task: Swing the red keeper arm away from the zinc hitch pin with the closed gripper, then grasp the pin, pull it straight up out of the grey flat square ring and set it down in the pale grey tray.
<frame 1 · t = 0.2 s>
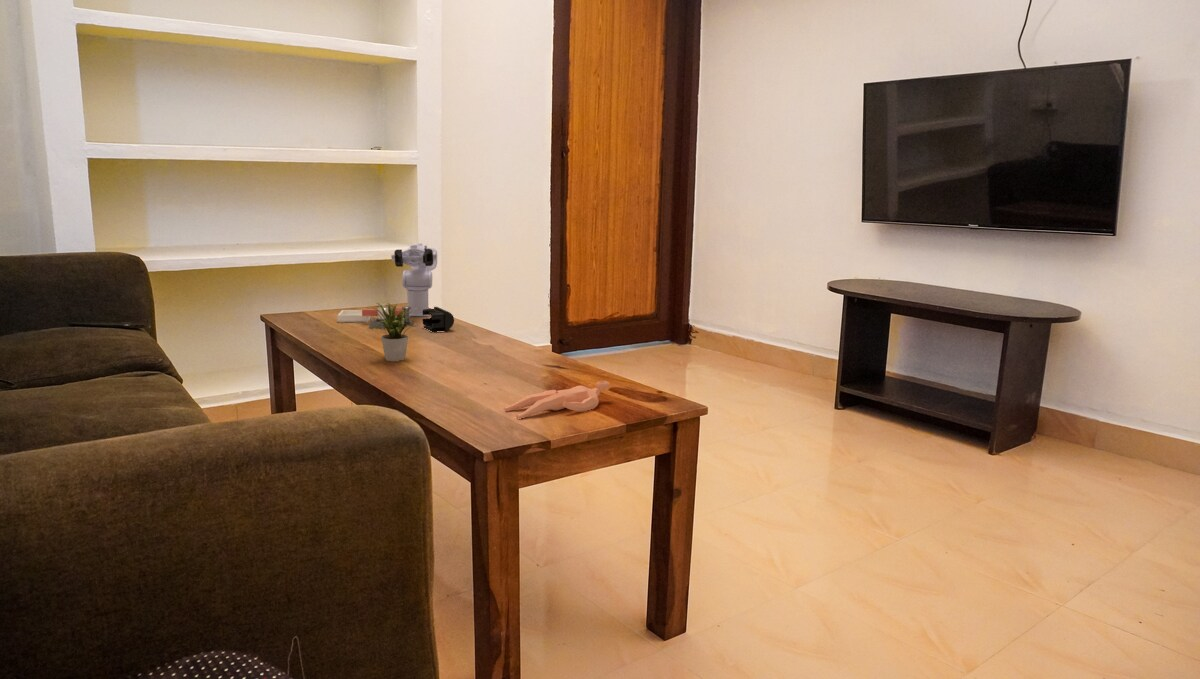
hand: (411, 259, 253), 22 cm above the table, tool horizontal, fingers open, 7 cm apart
keeper post: (406, 324, 259), on the table
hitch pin: (383, 326, 255), resting in grey flat square ring
grey flat square ring: (383, 325, 255), on the table
male figurine: (561, 409, 174), on the table
keeper arm: (382, 312, 257), point 4 cm above the table, hinge at 0.0°
tray: (354, 320, 263), on the table
house plant: (390, 359, 212), on the table
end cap: (438, 330, 252), on the table
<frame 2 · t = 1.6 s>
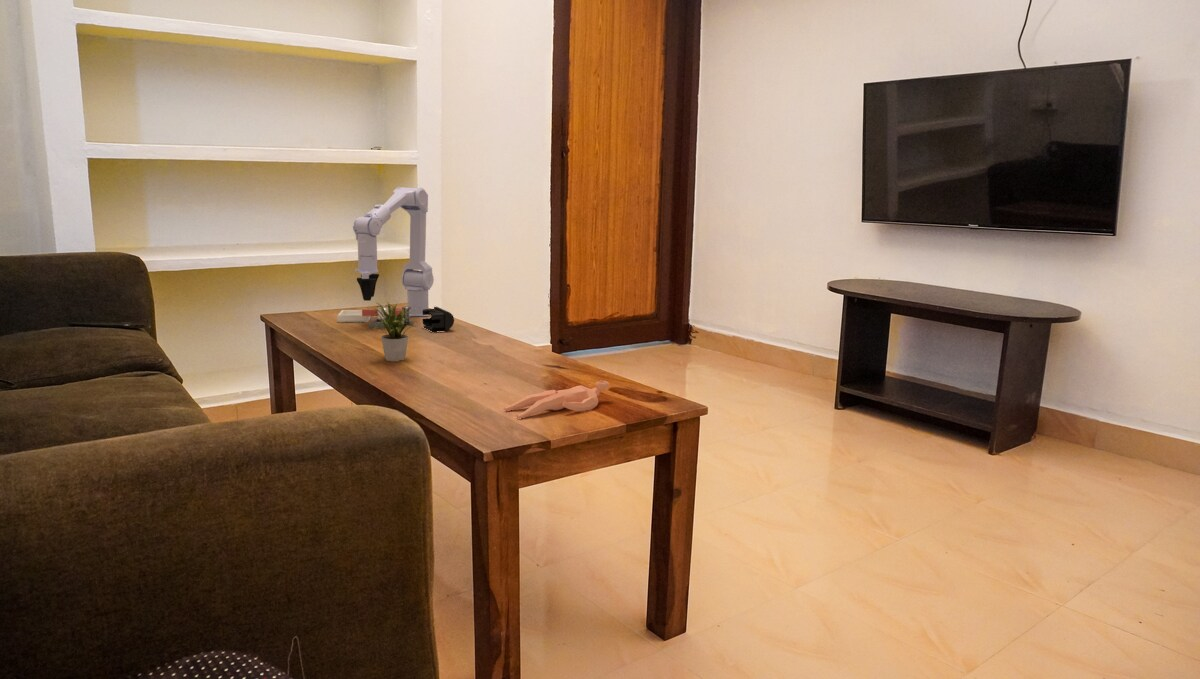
hand: (368, 298, 249), 9 cm above the table, tool pointing down, fingers open, 7 cm apart
nothing on the table moved.
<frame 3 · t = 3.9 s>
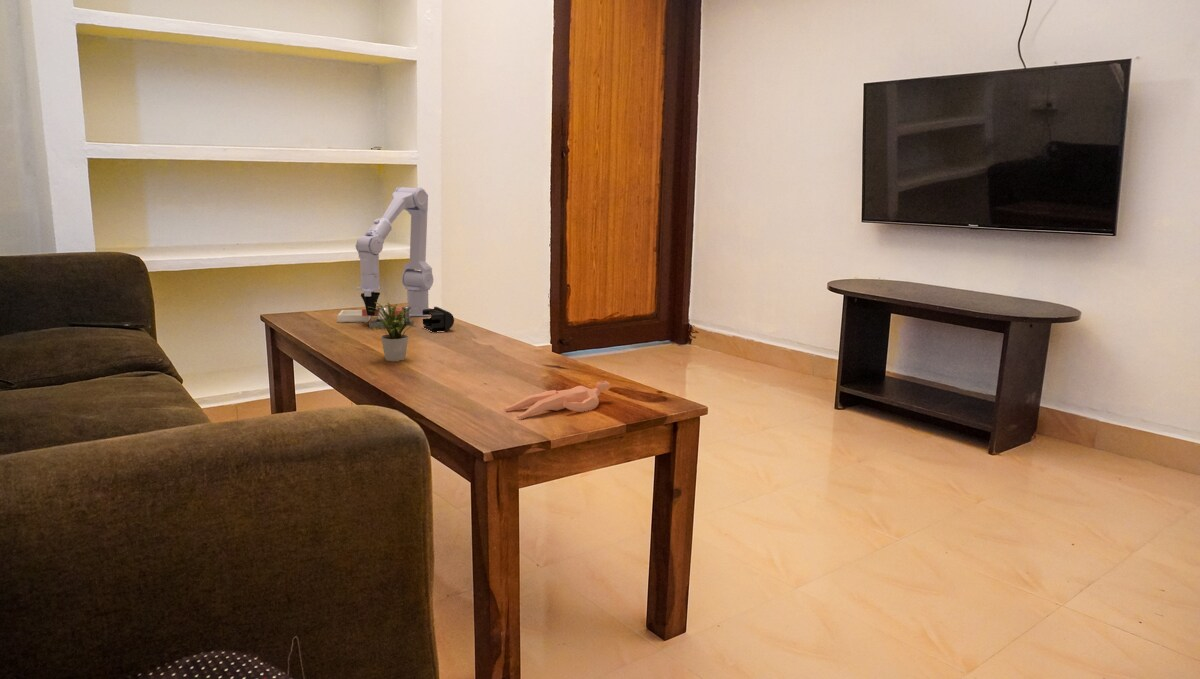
hand: (371, 315, 255), 3 cm above the table, tool pointing down, fingers closed, pressing on keeper arm
keeper arm: (382, 312, 257), point 4 cm above the table, hinge at 0.0°, touching gripper
everything else where it was.
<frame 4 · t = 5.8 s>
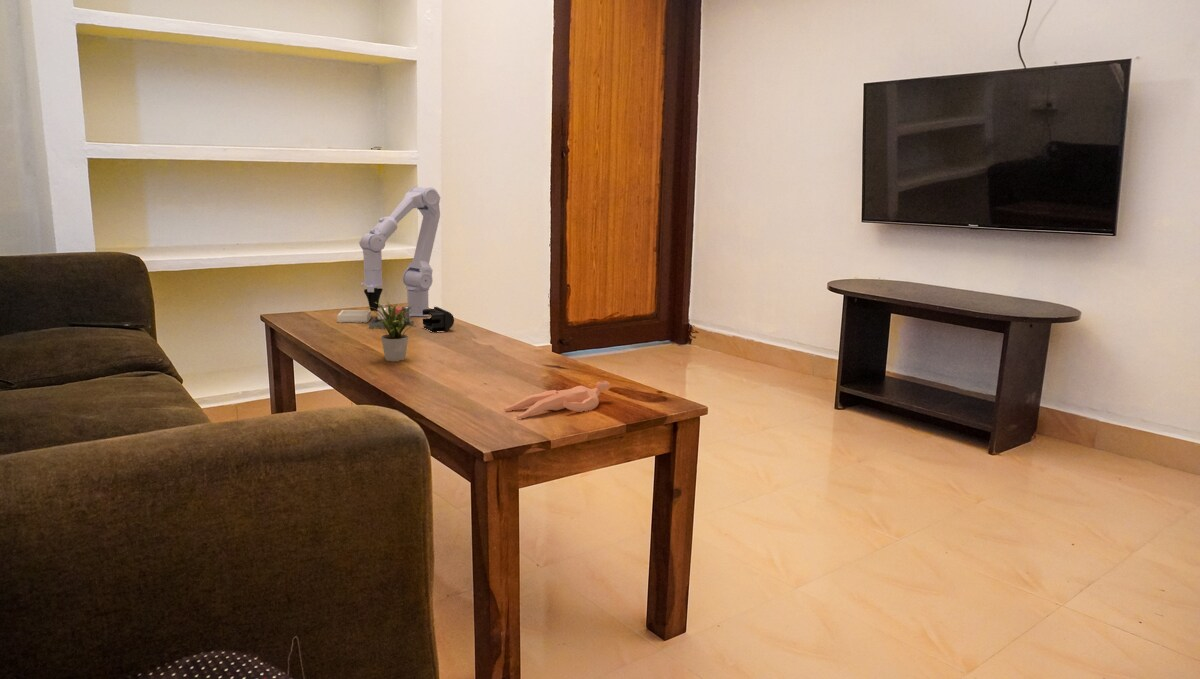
hand: (373, 310, 263), 3 cm above the table, tool pointing down, fingers closed
keeper arm: (389, 310, 262), point 4 cm above the table, hinge at 39.3°, touching gripper
everything else where it was.
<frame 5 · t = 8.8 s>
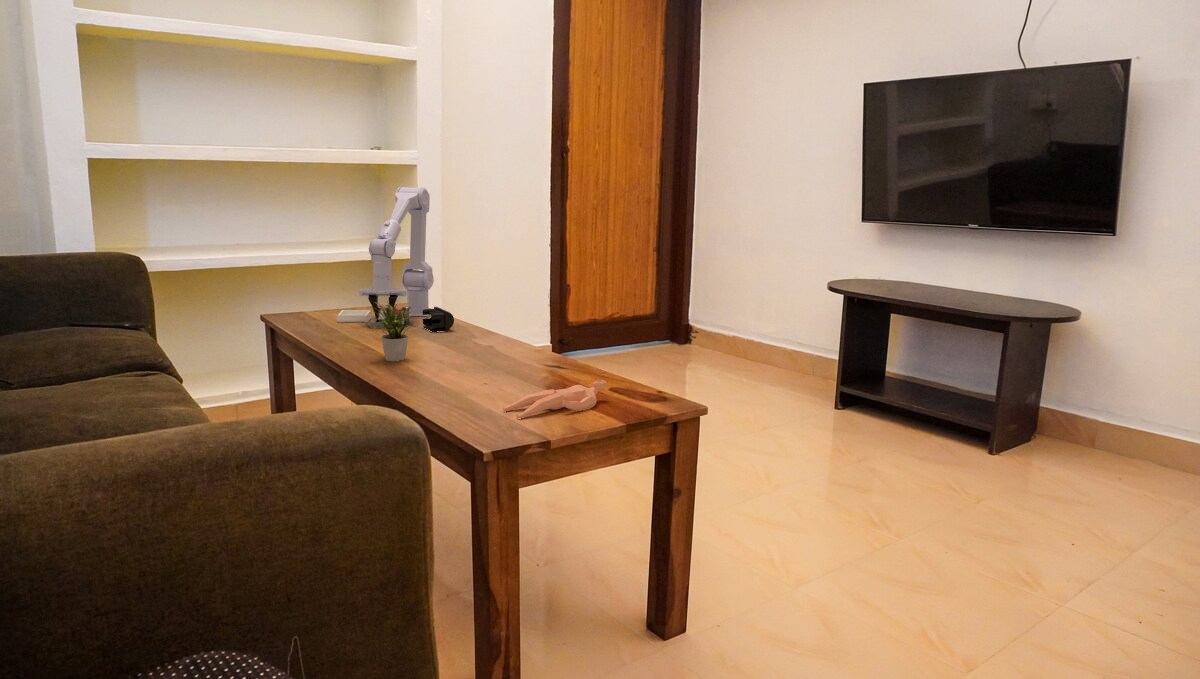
hand: (383, 318, 254), 3 cm above the table, tool pointing down, fingers closed on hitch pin, 4 cm apart
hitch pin: (383, 326, 255), resting in grey flat square ring, touching gripper
keeper arm: (389, 310, 262), point 4 cm above the table, hinge at 39.9°
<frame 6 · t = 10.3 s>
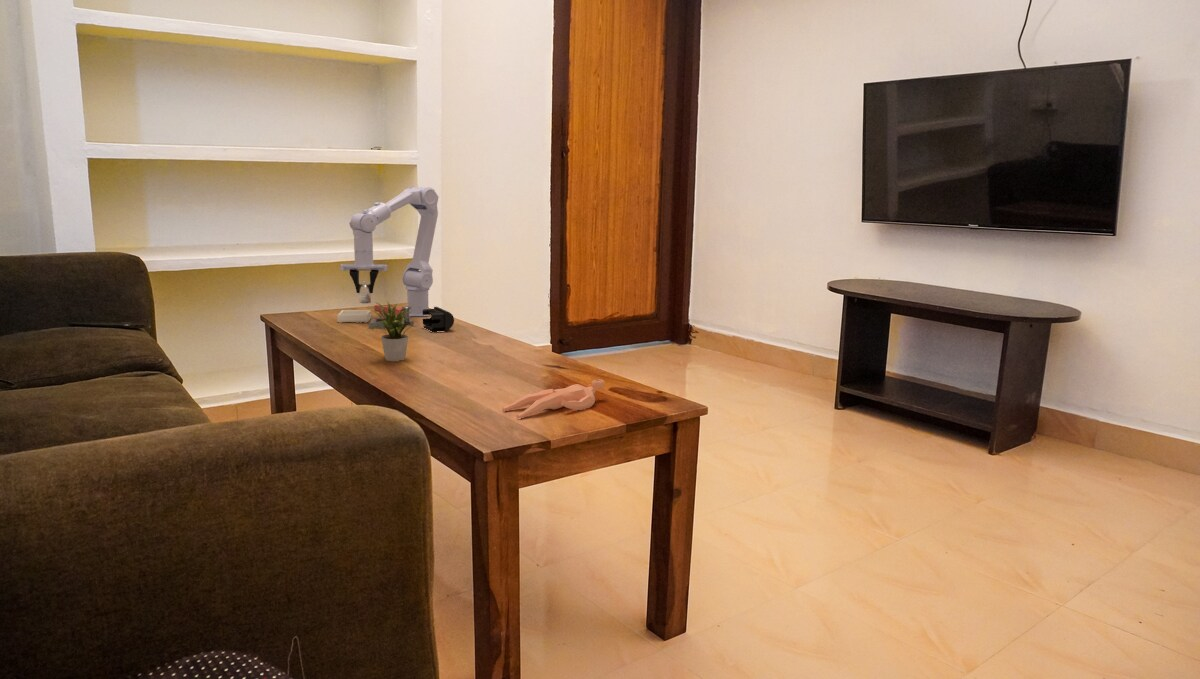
hand: (364, 292, 257), 10 cm above the table, tool pointing down, fingers closed on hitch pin, 4 cm apart
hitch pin: (365, 302, 258), point 7 cm above the table, touching gripper
when the fingers open (4 cm above the table, at t = 12.0 s): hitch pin stays where it is, resting on tray.
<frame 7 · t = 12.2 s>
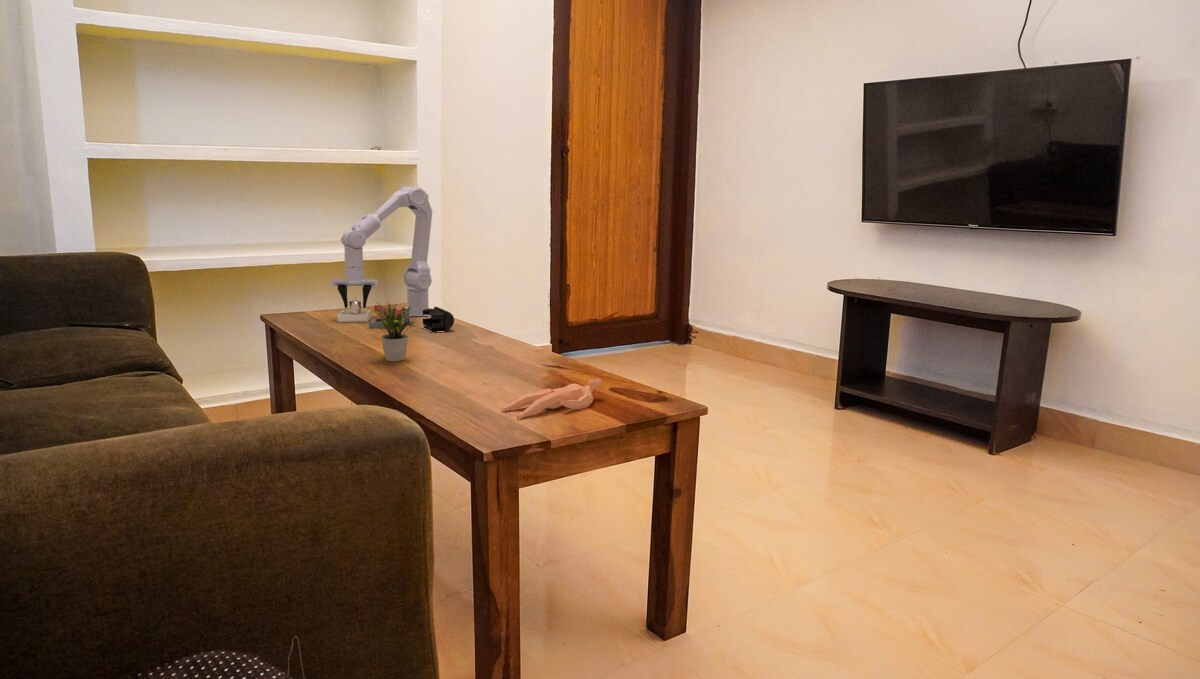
hand: (355, 307, 261), 4 cm above the table, tool pointing down, fingers open, 5 cm apart
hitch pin: (355, 319, 261), point 1 cm above the table, touching tray
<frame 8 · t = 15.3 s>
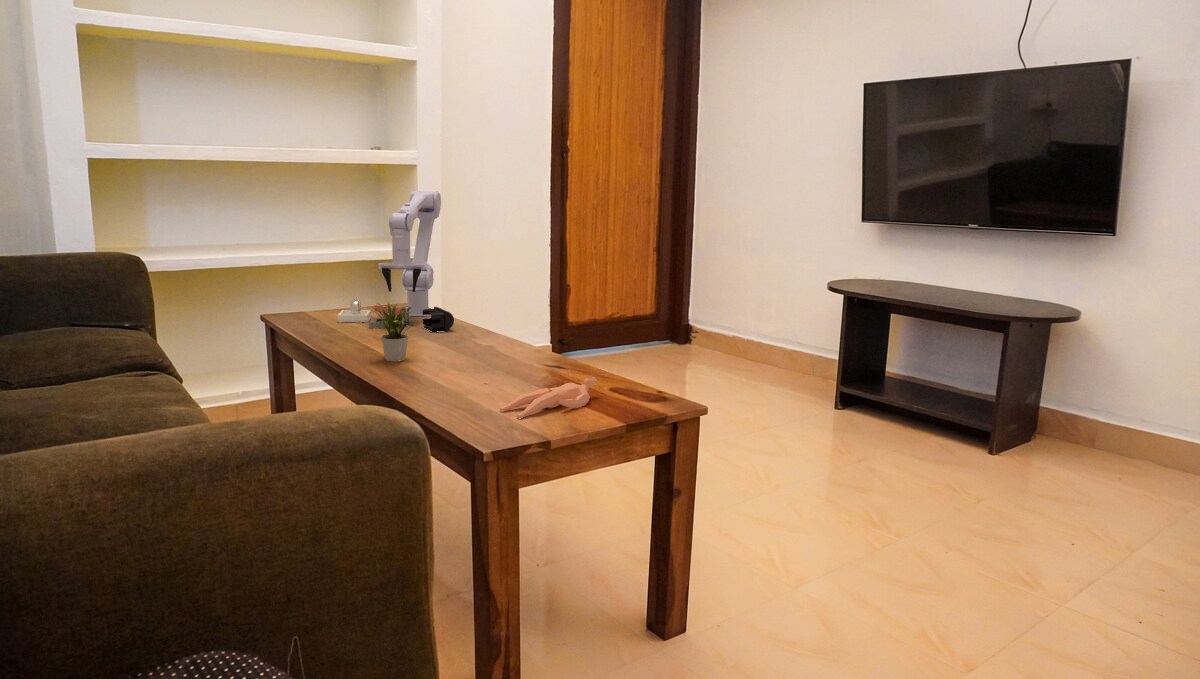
hand: (402, 291, 259), 10 cm above the table, tool pointing down, fingers open, 7 cm apart
at the end: keeper arm at +40° (first picture: +0°); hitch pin inside the target area on the tray (1.5 cm from its centre), point 0.6 cm above the tray's base; the gripper is holding nothing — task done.
